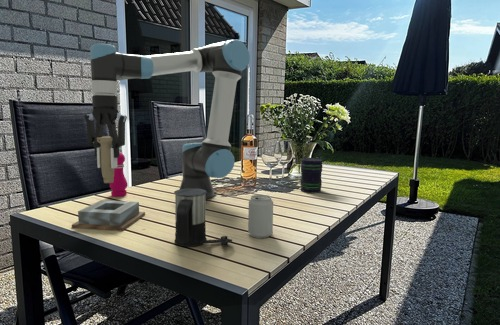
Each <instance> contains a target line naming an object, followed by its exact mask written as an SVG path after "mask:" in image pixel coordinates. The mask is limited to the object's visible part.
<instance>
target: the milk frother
mask: <svg viewBox="0 0 500 325" xmlns="http://www.w3.org/2000/svg"><path fill="white" fill-rule="evenodd" d="M173 193H174V195H175V200H174V201H175V204H174V205H175V206H174V208H175V213H174V214H175V219H174V220H175V231H174V232H175V235H174V237H175V239H174V244H176V245H178V246H182V247H190V248H191V247H198V246H202V245H204V244H220V245H221V246H228V245H229V243H232V242H233V239H230V238H229V237H228V236H227V235H222V236H220V238H217V239H216V238H215V239H207V235H206V234H207V232H206V227H207V226H206V199H205V194H206V190H203V189H193V188H187V189H180V188H179V189H176V190H175V191H173Z"/></svg>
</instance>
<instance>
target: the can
mask: <svg viewBox="0 0 500 325" xmlns="http://www.w3.org/2000/svg"><path fill="white" fill-rule="evenodd" d="M247 217H248V220H247V223H248V224H247V226H248V228H247V230H248V231H247V233H248V235H250V236H251V237H253V238H258V239H265V238H268V237H270V236H271V235H272V234H274V233H273V232H274V231H273V230H274V228H273V227H274V225H273V224H274V223H273V222H274V201H273V200H272V197H271V196H270V195H267V194H254V195H252V196H250V200H249V201H248V216H247Z"/></svg>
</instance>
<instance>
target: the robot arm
mask: <svg viewBox="0 0 500 325" xmlns="http://www.w3.org/2000/svg"><path fill="white" fill-rule="evenodd" d="M89 51H90V58H89V61H90V75H91V93H92V94H93V95H92V96H91V99H92V101H91V103H92V111H91V113H89V114H85V115H84V117H83V118H84V120H85V122H86V132H87V143H88V146H92V147H93V148H94V157H95V158H96V160H97V161H96V162H97V166H96V167H97V168H98V169H100V168H102V167H101V144H100V143H99V142H97V137H103V135H104V133H103V132H104V127H105V126H107V128H108V132H109V135H110V136H109V137H112V148H111V168H116V167H117V158H118V157H119V153H120V148H121V147H123V146H125V145H126V122H127V119H128V116H127V115H123V114H121V113H119V110H118V107H119V106H118V105H119V104H118V102H119V100H118V96H117V94H118V83H117V82H118V81H124V80H132V79H141V80H143V79H147V80H149V79H151V78H152V77H154V76H163V75H169V74H178V73H186V72H194V73H196V74H198V73H212V75H213V76H214V78H215V79H214V85H213V92H212V98H211V105H210V113H209V120H208V127H207V133H206V138H205V139H203V140H202V142H193V143H185V144H183V145H182V150H181V155H182V156H181V157H182V158H181V159H182V161H181V162H182V179H181V183H180V186H179V189H187V188H193V189H203V190H206V194H205V199H211V198H212V197H214V196H215V190H214V186H213V183H212V181H211V178H214V179H223V178H225V177H226V176H228V175H229V174H230V173H231V172H232V170H233V169H234V167H235V163H236V162H235V156H234V154H233V153H232V151H231V149H232V145H231V143H230V142H229V137H230V131H231V123H232V117H233V110H234V105H235V104H234V103H235V96H236V89H237V83H238V81H239V80H240V79H242V75H243V71H244V70H245V69H246V68H247V67H248V66H249V64H250V60H251V59H250V58H251V56H250V52H249V49H248V48H247V46H246V44H245V43H244V42H243V41H241V40H239V39H226V40H225V41H220V42H215V43H214V42H213V43H211V44H208V45H205V46H202V47H198V48H197V47H196V48H192V49H191V50H190V51H183V52H174V53H173V52H172V53H163V54H161V53H160V54H151V55H150V54H149V55H142V54H141V55H140V54H131V53H120V52H117V48H116V46H115V45H113V44H109V43H93V44H92V45H91V46H90V50H89ZM94 119H95V120H94ZM116 120H117V121H118V122H117V123H116ZM116 126H117V127H116ZM95 128H96V129H95Z"/></svg>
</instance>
